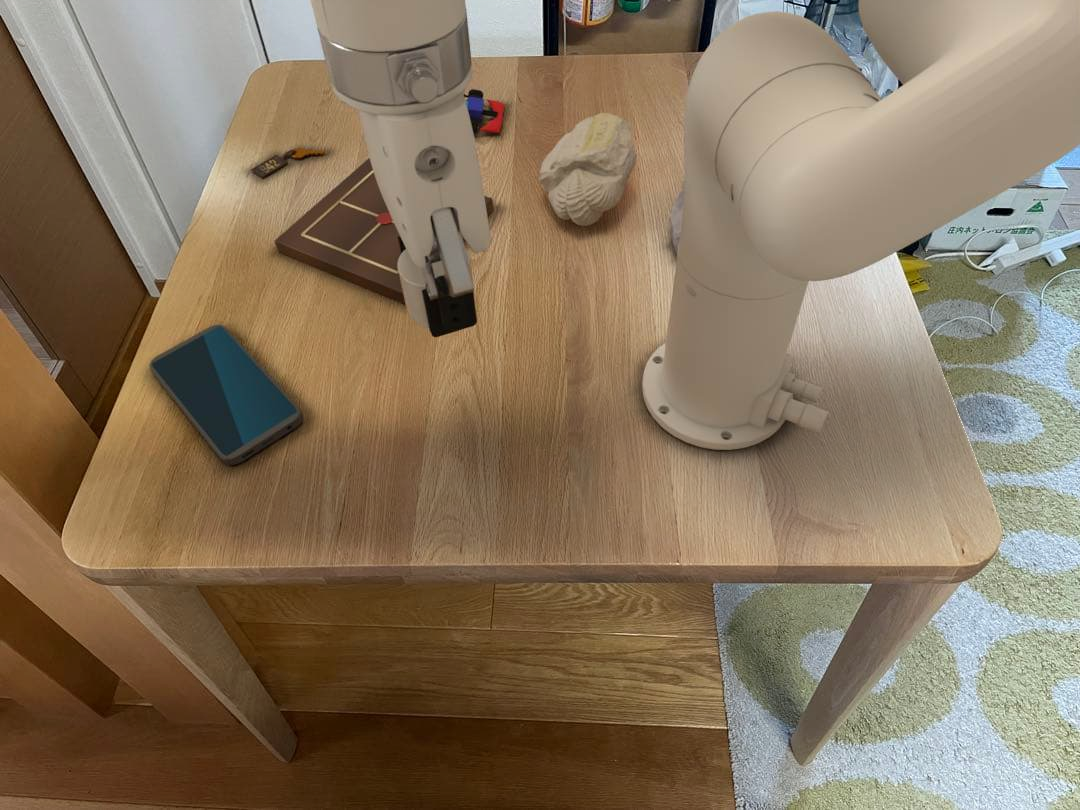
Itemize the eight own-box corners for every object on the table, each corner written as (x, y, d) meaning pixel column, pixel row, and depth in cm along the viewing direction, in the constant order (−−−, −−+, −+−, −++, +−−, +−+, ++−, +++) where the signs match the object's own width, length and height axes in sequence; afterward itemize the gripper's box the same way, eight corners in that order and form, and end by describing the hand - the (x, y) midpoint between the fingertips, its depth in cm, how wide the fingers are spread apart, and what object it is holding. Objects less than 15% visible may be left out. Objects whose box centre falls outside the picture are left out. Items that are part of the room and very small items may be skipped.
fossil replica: (546, 243, 84) (641, 237, 85) (552, 178, 77) (656, 173, 78) (529, 165, 90) (618, 160, 92) (533, 98, 83) (629, 95, 85)
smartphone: (228, 470, 67) (225, 464, 66) (148, 368, 74) (143, 361, 73) (308, 420, 70) (305, 413, 69) (223, 326, 77) (220, 319, 76)
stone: (488, 293, 58) (483, 249, 54) (452, 338, 55) (445, 295, 52) (430, 273, 59) (422, 229, 56) (393, 315, 57) (382, 272, 53)
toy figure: (503, 113, 101) (380, 95, 99) (507, 78, 97) (379, 58, 95) (498, 154, 96) (370, 135, 95) (502, 119, 92) (368, 99, 91)
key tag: (258, 179, 91) (256, 175, 91) (248, 166, 93) (246, 162, 92) (325, 153, 94) (324, 149, 93) (314, 141, 96) (313, 136, 95)
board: (493, 209, 87) (492, 197, 86) (405, 304, 78) (402, 292, 77) (373, 167, 92) (370, 155, 91) (278, 252, 84) (273, 239, 83)
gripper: (524, 117, 38) (536, 371, 53) (419, -32, 48) (454, 216, 63) (369, 157, 37) (425, 407, 51) (293, -6, 47) (358, 242, 61)
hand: (440, 299), depth 57 cm, fingers closed on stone, 4 cm apart
